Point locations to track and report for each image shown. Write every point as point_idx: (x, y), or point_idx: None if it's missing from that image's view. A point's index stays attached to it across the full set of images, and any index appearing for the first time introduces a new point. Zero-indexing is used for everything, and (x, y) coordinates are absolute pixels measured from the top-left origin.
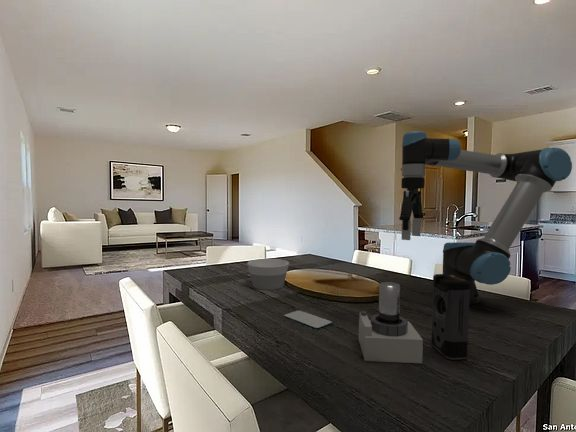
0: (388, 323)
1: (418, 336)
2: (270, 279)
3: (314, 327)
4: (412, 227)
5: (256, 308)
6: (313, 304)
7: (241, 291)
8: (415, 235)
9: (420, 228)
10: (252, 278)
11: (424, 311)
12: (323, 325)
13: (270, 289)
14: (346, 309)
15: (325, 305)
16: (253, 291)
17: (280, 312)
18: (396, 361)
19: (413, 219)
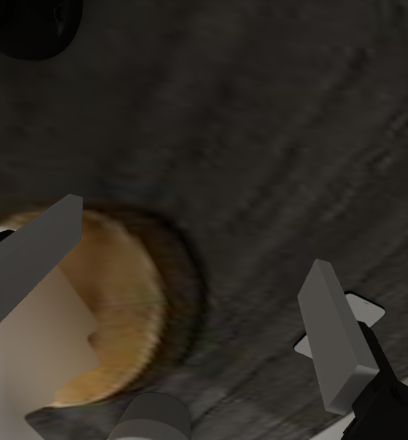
0: None
1: None
2: (185, 427)
3: (383, 315)
4: (49, 270)
5: (298, 402)
6: (243, 332)
7: (215, 436)
8: (80, 223)
9: (37, 216)
10: None
11: (199, 104)
12: (371, 304)
13: (184, 405)
14: (252, 276)
15: (241, 313)
16: (207, 422)
17: (308, 370)
18: None
19: (7, 310)
